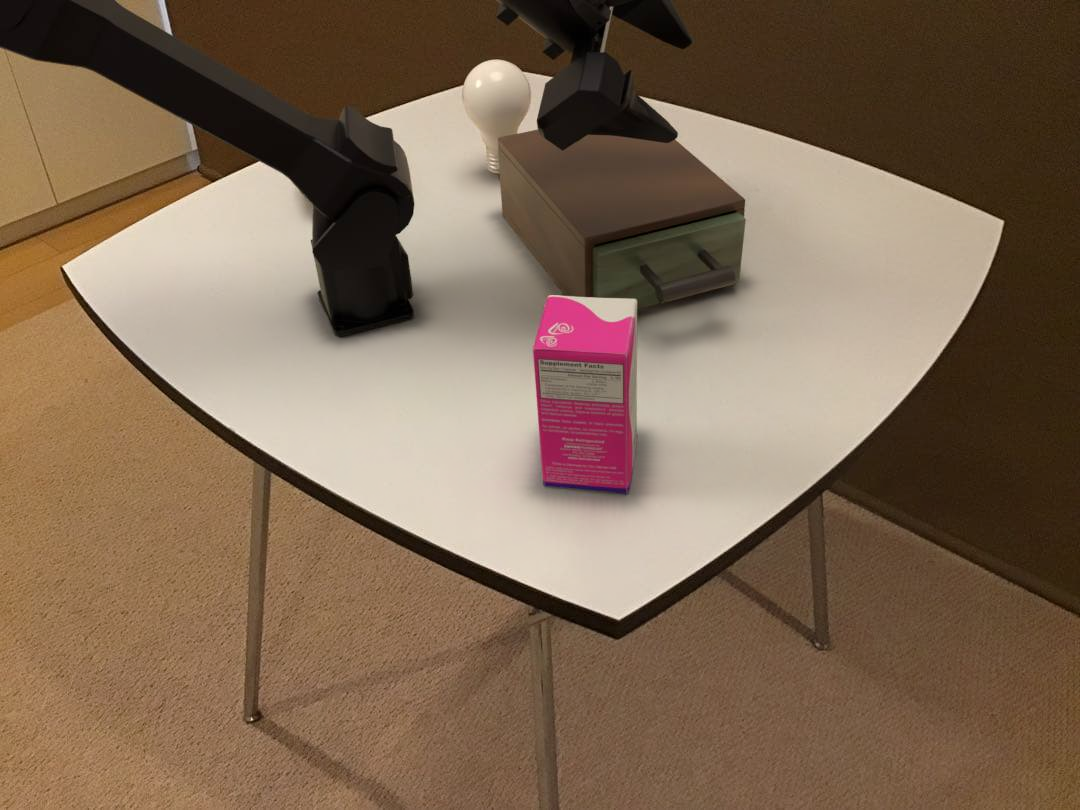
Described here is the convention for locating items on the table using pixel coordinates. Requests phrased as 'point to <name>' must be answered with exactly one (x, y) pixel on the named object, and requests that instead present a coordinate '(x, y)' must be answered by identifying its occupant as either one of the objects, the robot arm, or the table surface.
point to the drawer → (670, 261)
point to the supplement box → (587, 392)
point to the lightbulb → (496, 103)
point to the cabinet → (600, 196)
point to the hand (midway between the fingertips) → (681, 90)
